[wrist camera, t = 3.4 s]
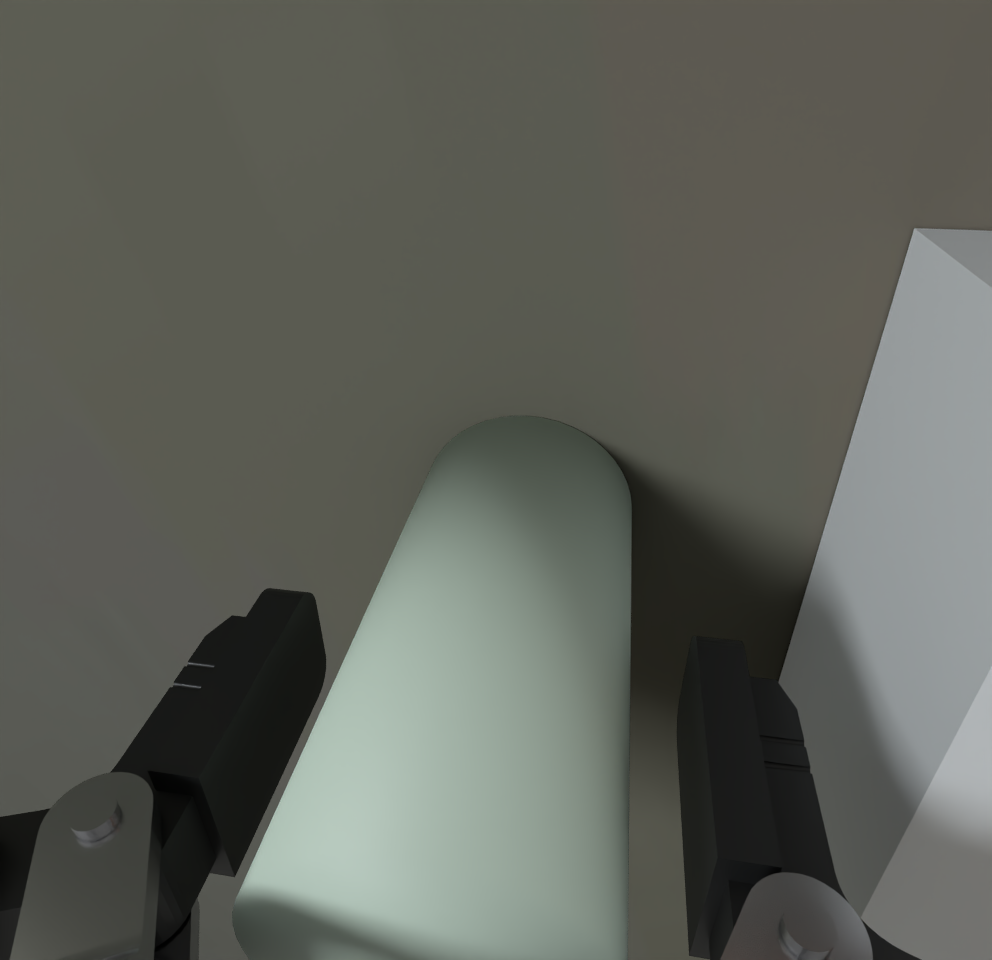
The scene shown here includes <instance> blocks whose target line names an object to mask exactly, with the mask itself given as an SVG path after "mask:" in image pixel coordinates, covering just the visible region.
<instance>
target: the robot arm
mask: <svg viewBox="0 0 992 960" xmlns="http://www.w3.org/2000/svg"><path fill="white" fill-rule="evenodd" d="M325 672H326V654H325V649H324V643H323V638H322V632H321V627H320V621H319V616H318V610H317V605H316V600H315V597H314V596H313V594H312V593H308V592H299V591H290V590H281V589H272V588H268V589H266V590H264V591H263V592H262V593H261V595H260V596H259V598H258V599H257V601H256V602H255V604H254V605H253V607H252V608H251V610H250V611H249V613H248V615H247V616H246V617H241V616H231V617H230V618H228V619H227V620H226V621H224V622H223V623H222V624H220V625H219V626H218V627H217V628H215V629H214V630H213V631H211V632H210V633H209V634H208V635H206V636H205V637H204V639H203V640H202V642H201V643H200V645H199V646H198V648H197V649H196V650H195V652H194V653H193V655H192V656H191V658H190V659H189V661H188V665H187V667H186V666H184V668H183V669H182V671H181V672H180V674H179V675H178V677H177V678H176V679H175V681H174V686H173V687H170V688H169V690H168V691H167V692H166V694H165V695H164V697H163V698H162V700H161V701H160V703H159V704H158V706H157V707H156V708H155V710H154V711H153V713H152V714H151V716H150V717H149V719H148V720H147V721H146V723H145V724H144V726H143V727H142V729H141V730H140V732H139V733H138V734H137V736H136V737H135V739H134V740H133V742H132V743H131V745H130V746H129V748H128V749H127V750H126V752H125V753H124V755H123V756H122V758H121V759H120V761H119V762H118V763H117V765H116V766H115V767H114V769H113V770H112V771H111V772H110V773H106V774H102V775H99V776H95V777H93V778H90V779H88V780H86V781H84V782H82V783H80V784H78V785H77V786H75V787H74V788H72V789H71V790H69V791H68V792H67V793H65V794H64V795H63V796H62V797H61V798H60V799H59V800H58V801H57V802H56V803H55V804H54V805H53V806H52V807H51V808H50V809H45V810H40V811H34V812H28V813H22V814H16V815H10V816H3V817H0V960H199V919H200V909H199V902H198V898H197V897H198V895H199V893H200V891H201V889H202V887H203V885H204V883H205V881H206V879H207V877H208V875H209V873H213V874H219V875H225V876H231V877H235V876H236V873H237V871H238V869H239V867H240V865H241V863H242V860H243V858H244V856H245V854H246V852H247V850H248V848H249V845H250V843H251V841H252V839H253V837H254V835H255V832H256V830H257V828H258V826H259V824H260V822H261V819H262V817H263V815H264V813H265V811H266V809H267V807H268V804H269V802H270V800H271V798H272V796H273V794H274V791H275V789H276V787H277V785H278V783H279V781H280V779H281V776H282V774H283V772H284V770H285V768H286V766H287V763H288V761H289V759H290V757H291V755H292V753H293V750H294V748H295V746H296V744H297V742H298V740H299V738H300V735H301V733H302V731H303V729H304V727H305V725H306V722H307V720H308V718H309V716H310V714H311V712H312V710H313V707H314V705H315V703H316V701H317V699H318V697H319V694H320V692H321V689H322V686H323V682H324V678H325ZM677 751H678V768H679V785H680V803H681V820H682V838H683V855H684V872H685V890H686V907H687V924H688V942H689V956H694V957H700V958H706V959H710V960H921V959H919V958H917V957H915V956H913V955H911V954H909V953H907V952H905V951H903V950H901V949H899V948H897V947H895V946H894V945H892V944H890V943H889V942H888V941H886V940H885V939H883V938H882V937H880V936H879V935H878V934H877V933H876V932H874V931H873V930H872V929H871V928H870V927H869V926H868V925H867V924H866V923H865V922H864V921H863V920H862V919H861V918H860V917H859V916H858V914H857V913H856V912H855V910H854V909H853V908H852V906H851V905H850V904H849V902H848V901H847V899H846V897H845V896H844V894H843V892H842V890H841V887H840V885H839V883H838V880H837V877H836V873H835V869H834V865H833V861H832V857H831V852H830V848H829V844H828V839H827V835H826V831H825V827H824V822H823V818H822V814H821V809H820V805H819V801H818V796H817V792H816V788H815V784H814V779H813V775H812V774H811V773H810V767H811V766H810V762H809V758H808V754H807V749H806V747H804V736H803V732H802V728H801V724H800V719H799V715H798V711H797V708H796V707H795V705H794V704H793V702H792V701H791V700H790V698H789V697H788V695H787V694H786V693H785V691H784V690H783V688H782V687H781V686H780V684H779V683H778V681H777V680H773V679H764V678H756V677H749V671H748V666H747V660H746V654H745V649H744V645H743V643H742V642H741V641H735V640H725V639H716V638H707V637H698V636H693V637H692V640H691V643H690V648H689V653H688V658H687V663H686V668H685V673H684V678H683V683H682V689H681V694H680V699H679V705H678V715H677Z"/></svg>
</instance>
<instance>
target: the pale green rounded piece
mask: <svg viewBox="0 0 992 960" xmlns="http://www.w3.org/2000/svg"><path fill="white" fill-rule="evenodd" d="M631 547H632V503H631V495H630V491H629V487H628V484H627V481H626V479H625V477H624V475H623V473H622V471H621V469H620V468H619V466H618V465H617V463H616V461H615V460H614V459H613V458H612V457H611V455H610V454H609V453H608V452H607V451H606V450H605V449H604V448H603V447H602V446H601V445H600V444H598V443H597V442H596V441H595V440H593V439H592V438H590V437H589V436H587V435H586V434H585V433H583V432H581V431H579V430H577V429H575V428H573V427H571V426H569V425H566V424H563V423H561V422H558V421H554V420H550V419H546V418H541V417H533V416H507V417H499V418H495V419H491V420H486V421H484V422H481V423H478V424H476V425H473V426H471V427H470V428H468V429H466V430H464V431H462V432H461V433H460V434H458V435H457V436H455V437H454V438H453V439H452V440H451V441H450V442H449V443H448V444H447V445H446V446H445V447H444V448H443V449H442V450H441V452H440V453H439V454H438V456H437V457H436V459H435V461H434V463H433V465H432V467H431V469H430V471H429V473H428V476H427V478H426V480H425V482H424V484H423V487H422V489H421V491H420V493H419V496H418V498H417V500H416V502H415V504H414V507H413V509H412V511H411V513H410V515H409V518H408V520H407V522H406V524H405V526H404V529H403V531H402V533H401V535H400V538H399V540H398V542H397V544H396V546H395V549H394V551H393V553H392V555H391V557H390V560H389V562H388V564H387V566H386V568H385V571H384V573H383V575H382V577H381V580H380V582H379V584H378V586H377V588H376V591H375V593H374V595H373V597H372V599H371V602H370V604H369V606H368V608H367V610H366V613H365V615H364V617H363V619H362V622H361V624H360V626H359V628H358V630H357V633H356V635H355V637H354V639H353V641H352V644H351V646H350V648H349V650H348V652H347V655H346V657H345V659H344V661H343V663H342V666H341V668H340V670H339V672H338V675H337V677H336V679H335V681H334V683H333V686H332V688H331V690H330V692H329V694H328V697H327V699H326V701H325V703H324V705H323V708H322V710H321V712H320V714H319V717H318V719H317V721H316V723H315V725H314V728H313V730H312V732H311V734H310V736H309V739H308V741H307V743H306V745H305V747H304V750H303V752H302V754H301V756H300V759H299V761H298V763H297V765H296V767H295V770H294V772H293V774H292V776H291V778H290V781H289V783H288V785H287V787H286V789H285V792H284V794H283V796H282V798H281V800H280V803H279V805H278V807H277V809H276V812H275V814H274V816H273V818H272V820H271V823H270V825H269V827H268V829H267V831H266V834H265V836H264V838H263V840H262V842H261V845H260V847H259V849H258V851H257V854H256V856H255V858H254V860H253V862H252V865H251V867H250V869H249V871H248V873H247V876H246V878H245V880H244V882H243V884H242V887H241V889H240V891H239V893H238V896H237V898H236V900H235V904H234V907H233V911H232V918H233V927H234V931H235V935H236V938H237V940H238V942H239V944H240V946H241V948H242V950H243V951H244V952H245V954H246V955H247V956H248V958H249V959H250V960H628V874H629V765H630V656H631Z"/></svg>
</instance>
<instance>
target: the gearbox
mask: <svg viewBox="0 0 992 960" xmlns="http://www.w3.org/2000/svg"><path fill="white" fill-rule="evenodd" d="M778 683H779V684H780V686H781V687H782V688H783V690H784V691H785V693H786V694H787V695H788V697H789V698H790V700H791V701H792V702H793V704H794V705H795V707H796V708H797V711H798V715H799V719H800V724H801V728H802V732H803V736H804V747H806V749H807V754H808V758H809V762H810V766H811V767H810V773H811V774H812V775H813V779H814V784H815V788H816V792H817V796H818V801H819V805H820V809H821V814H822V818H823V822H824V827H825V831H826V835H827V839H828V844H829V848H830V852H831V857H832V861H833V865H834V869H835V873H836V877H837V880H838V883H839V885H840V887H841V890H842V892H843V894H844V896H845V897H846V899H847V901H848V902H849V904H850V905H851V906H852V908H853V909H854V910H855V912H856V913H857V914H858V916H859V917H860V918H861V919H862V920H863V921H864V922H865V923H866V924H867V925H868V926H869V927H870V928H871V929H872V930H873V931H874V932H876V933H877V934H878V935H879V936H880V937H882V938H883V939H885V940H886V941H888V942H889V943H890V944H892V945H894V946H895V947H897V948H899V949H901V950H903V951H905V952H907V953H909V954H911V955H913V956H915V957H917V958H919V959H921V960H992V231H982V230H952V229H922V228H914V231H913V235H912V238H911V241H910V245H909V248H908V251H907V255H906V258H905V261H904V265H903V268H902V271H901V275H900V278H899V281H898V285H897V288H896V291H895V295H894V298H893V301H892V305H891V308H890V311H889V315H888V318H887V321H886V325H885V328H884V331H883V335H882V338H881V341H880V345H879V348H878V351H877V355H876V358H875V362H874V365H873V368H872V372H871V375H870V378H869V382H868V385H867V388H866V392H865V395H864V398H863V402H862V405H861V408H860V412H859V415H858V418H857V422H856V425H855V428H854V432H853V435H852V438H851V442H850V445H849V448H848V452H847V455H846V458H845V462H844V465H843V468H842V472H841V475H840V478H839V482H838V485H837V488H836V492H835V495H834V498H833V502H832V505H831V508H830V512H829V515H828V518H827V522H826V525H825V528H824V532H823V535H822V538H821V542H820V545H819V548H818V552H817V555H816V558H815V562H814V565H813V568H812V572H811V575H810V578H809V582H808V585H807V588H806V592H805V595H804V598H803V602H802V605H801V608H800V612H799V615H798V618H797V622H796V625H795V628H794V632H793V635H792V638H791V642H790V645H789V648H788V652H787V655H786V658H785V662H784V665H783V668H782V672H781V675H780V678H779V682H778Z"/></svg>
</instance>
